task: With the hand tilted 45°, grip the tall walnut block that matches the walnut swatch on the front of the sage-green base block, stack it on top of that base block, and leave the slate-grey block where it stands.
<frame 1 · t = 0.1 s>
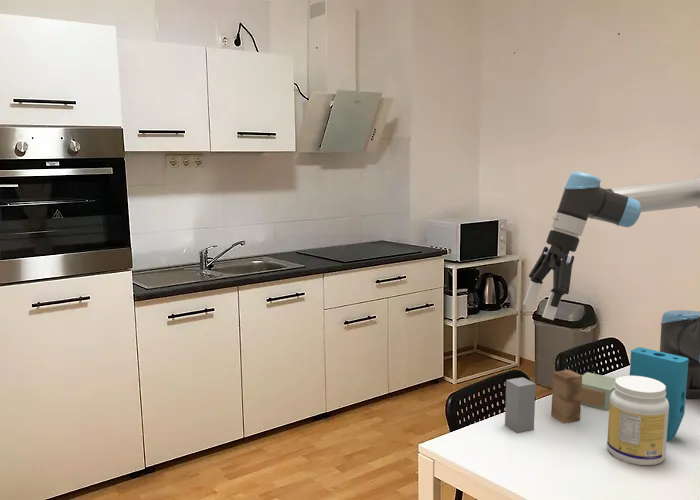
hand: (537, 312, 161), 28 cm above the table, tool tilted 20°, fingers open, 13 cm apart
slate block: (519, 427, 157), on the table
supplement tub: (635, 455, 143), on the table
base block: (597, 401, 174), on the table
walnut block: (565, 418, 162), on the table
block: (653, 434, 153), on the table
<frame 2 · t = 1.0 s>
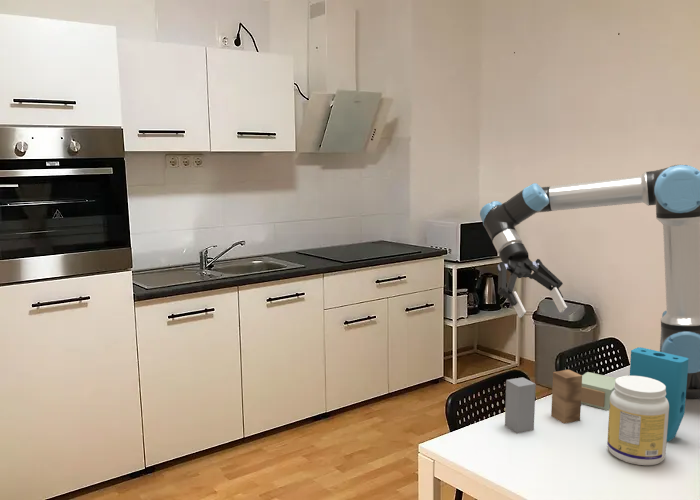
hand: (543, 312, 168), 26 cm above the table, tool tilted 45°, fingers open, 13 cm apart
nothing on the table moved.
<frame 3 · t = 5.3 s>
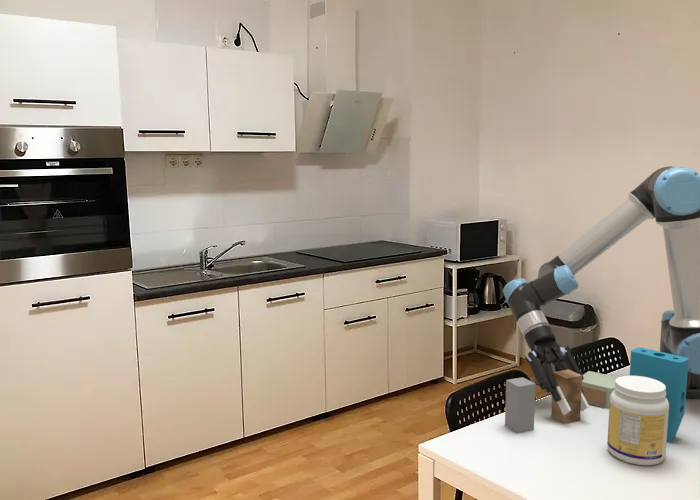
hand: (576, 410, 158), 4 cm above the table, tool tilted 45°, fingers closed on walnut block, 5 cm apart
base block: (599, 400, 175), on the table
walnut block: (565, 418, 162), on the table, touching gripper
everything else where it was.
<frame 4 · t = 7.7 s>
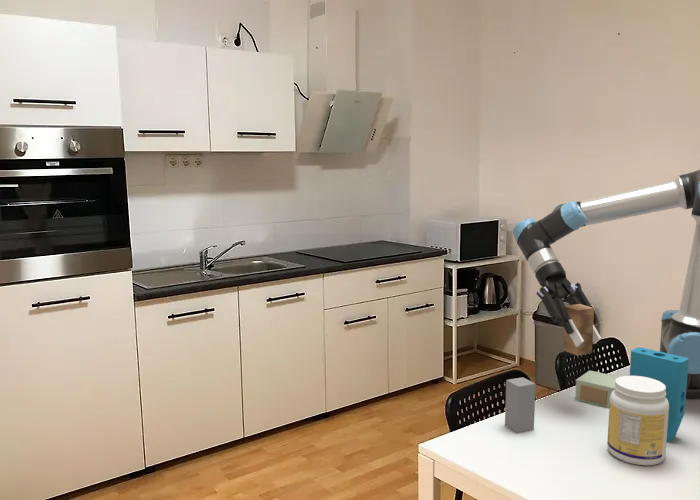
hand: (588, 342, 160), 20 cm above the table, tool tilted 45°, fingers closed on walnut block, 5 cm apart
walnut block: (577, 351, 164), point 16 cm above the table, touching gripper
when the fingers open (11 cm above the table, at t = 10.4 s): walnut block drops 2 cm, resting on base block.
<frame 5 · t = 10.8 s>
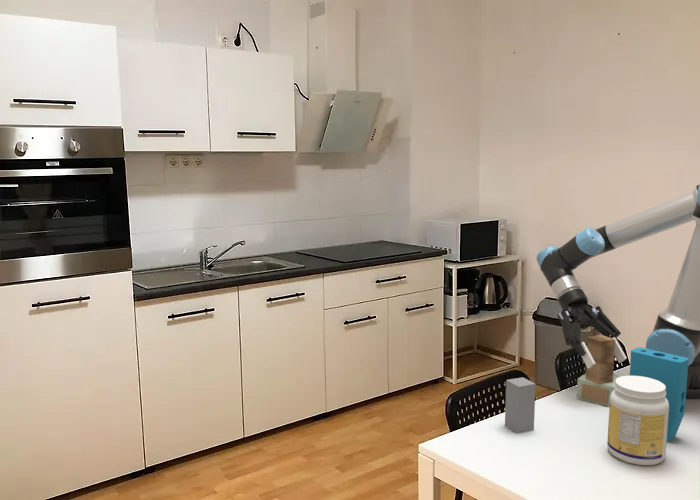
hand: (607, 363, 169), 12 cm above the table, tool tilted 45°, fingers open, 10 cm apart
base block: (601, 398, 176), on the table, touching walnut block
walnut block: (598, 380, 173), point 6 cm above the table, touching base block
everything else where it was.
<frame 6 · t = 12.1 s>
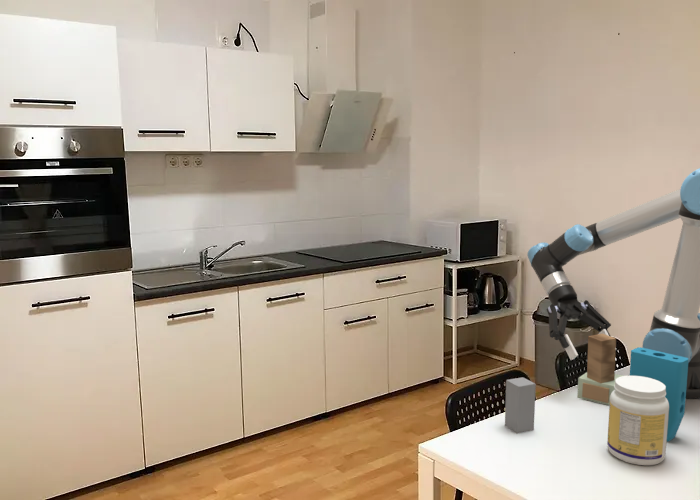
hand: (594, 354, 173), 13 cm above the table, tool tilted 45°, fingers open, 13 cm apart
base block: (601, 397, 177), on the table
walnut block: (600, 378, 174), point 6 cm above the table
everything else where it was.
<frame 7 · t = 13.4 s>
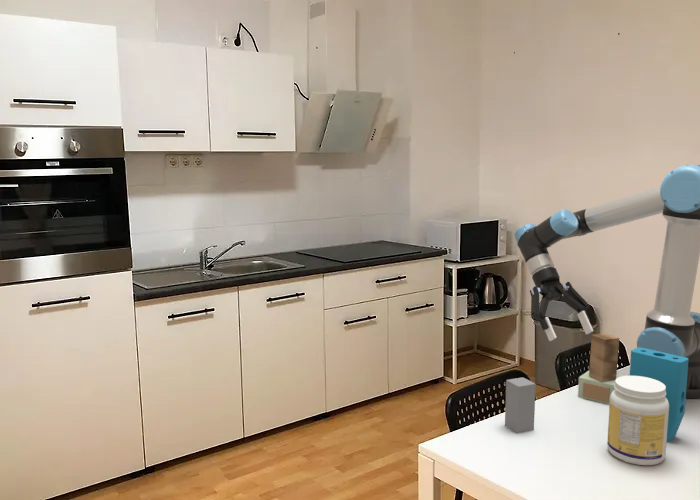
hand: (571, 336, 183), 15 cm above the table, tool tilted 35°, fingers open, 13 cm apart
base block: (602, 396, 177), on the table, touching walnut block
walnut block: (602, 378, 175), point 6 cm above the table, touching base block
everything else where it was.
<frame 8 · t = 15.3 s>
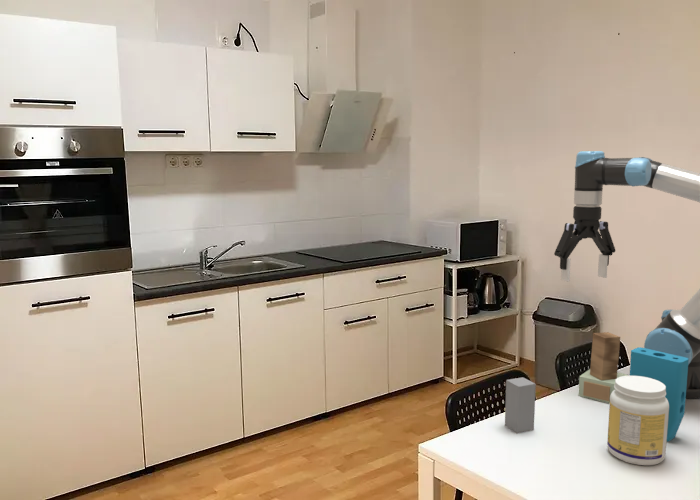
hand: (583, 278, 182), 32 cm above the table, tool pointing down, fingers open, 13 cm apart
walnut block: (603, 376, 176), point 6 cm above the table, touching base block
at the end: walnut block 1.2 cm off-centre on the base block, point 6.1 cm above the base block's base; walnut block tilted 1°; slate block moved 0.0 cm from its start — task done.
